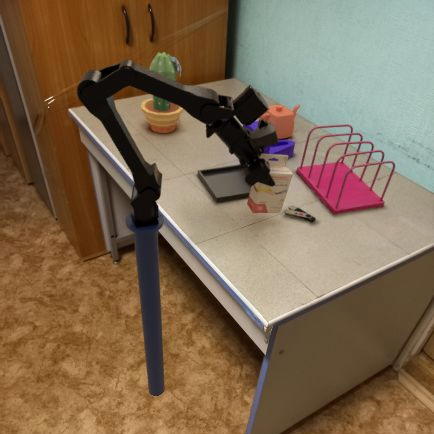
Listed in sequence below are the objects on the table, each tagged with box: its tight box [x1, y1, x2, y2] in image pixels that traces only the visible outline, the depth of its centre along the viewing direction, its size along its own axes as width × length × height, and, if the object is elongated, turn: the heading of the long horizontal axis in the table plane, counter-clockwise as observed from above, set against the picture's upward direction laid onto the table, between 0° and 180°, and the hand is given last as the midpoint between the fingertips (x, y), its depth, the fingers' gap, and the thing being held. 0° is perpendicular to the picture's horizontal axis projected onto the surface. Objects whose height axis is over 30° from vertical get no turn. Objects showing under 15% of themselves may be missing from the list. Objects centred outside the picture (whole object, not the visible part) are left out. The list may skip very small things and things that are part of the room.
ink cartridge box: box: [246, 154, 294, 214], centre depth 111 cm, size 9×5×15 cm, turn 107°
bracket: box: [242, 120, 296, 161], centre depth 141 cm, size 18×11×12 cm, turn 115°
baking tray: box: [197, 163, 251, 204], centre depth 131 cm, size 19×16×2 cm
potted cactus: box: [140, 51, 184, 134], centre depth 147 cm, size 15×15×25 cm
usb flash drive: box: [284, 204, 317, 224], centre depth 121 cm, size 9×5×1 cm, turn 43°
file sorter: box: [295, 123, 396, 215], centre depth 128 cm, size 17×25×16 cm
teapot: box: [258, 104, 302, 140], centre depth 155 cm, size 12×18×10 cm, turn 118°
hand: (272, 179), depth 110 cm, fingers closed on ink cartridge box, 5 cm apart
